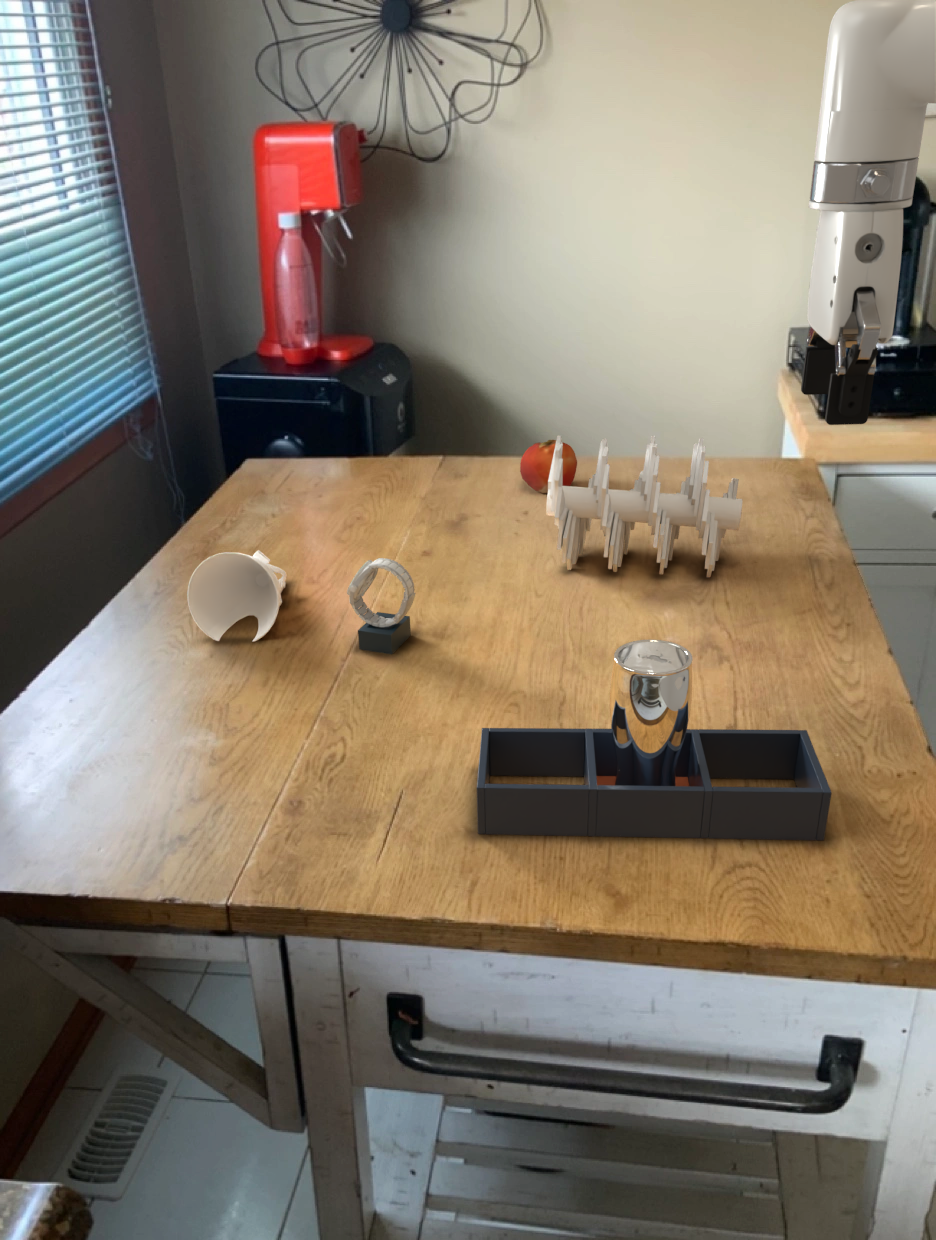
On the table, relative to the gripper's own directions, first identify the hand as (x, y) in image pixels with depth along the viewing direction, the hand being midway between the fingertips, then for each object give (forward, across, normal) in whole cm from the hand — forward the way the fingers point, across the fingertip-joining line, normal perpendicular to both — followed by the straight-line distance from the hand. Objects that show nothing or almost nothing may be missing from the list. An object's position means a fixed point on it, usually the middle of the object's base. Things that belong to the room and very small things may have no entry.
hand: (832, 407), depth 96 cm
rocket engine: (+34, +31, +60) cm, 75 cm away
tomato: (+34, +80, +23) cm, 90 cm away
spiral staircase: (+34, +46, +11) cm, 58 cm away
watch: (+34, +22, +43) cm, 59 cm away
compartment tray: (+33, -12, +15) cm, 38 cm away
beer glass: (+33, -12, +15) cm, 38 cm away
